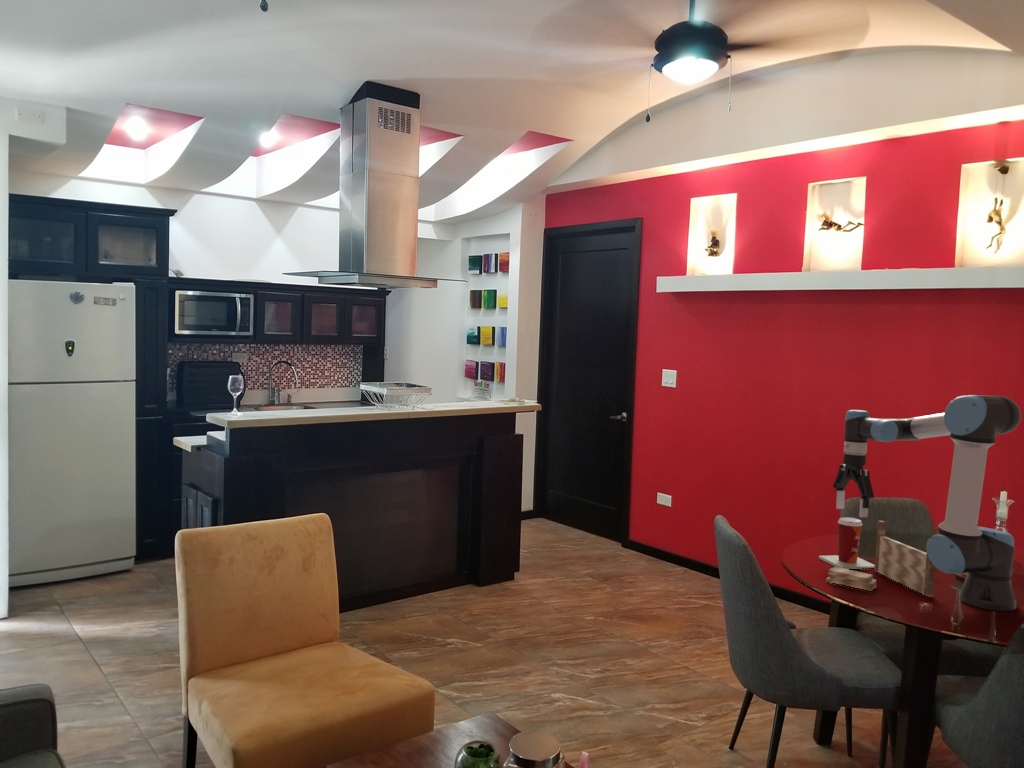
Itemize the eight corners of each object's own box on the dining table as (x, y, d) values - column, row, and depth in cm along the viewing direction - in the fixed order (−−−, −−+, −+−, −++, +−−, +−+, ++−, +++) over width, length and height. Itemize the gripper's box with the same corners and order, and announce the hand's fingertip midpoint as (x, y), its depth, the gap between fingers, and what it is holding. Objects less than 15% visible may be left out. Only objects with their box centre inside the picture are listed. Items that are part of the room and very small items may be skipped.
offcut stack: (825, 583, 260) (826, 569, 260) (832, 579, 265) (833, 565, 265) (871, 593, 251) (872, 579, 251) (877, 589, 256) (878, 575, 256)
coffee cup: (861, 565, 278) (863, 523, 277) (835, 562, 281) (838, 520, 280) (859, 559, 286) (861, 518, 285) (834, 556, 289) (837, 515, 288)
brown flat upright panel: (932, 596, 249) (936, 540, 248) (927, 597, 249) (931, 540, 248) (878, 571, 275) (882, 520, 274) (874, 571, 274) (877, 520, 273)
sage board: (877, 569, 278) (877, 566, 278) (841, 569, 275) (841, 567, 275) (853, 557, 292) (853, 555, 292) (818, 558, 289) (818, 555, 289)
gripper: (824, 448, 292) (821, 505, 294) (867, 458, 268) (864, 520, 269) (843, 448, 294) (839, 505, 295) (887, 458, 269) (883, 520, 271)
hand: (851, 512), depth 282 cm, fingers open, 13 cm apart
